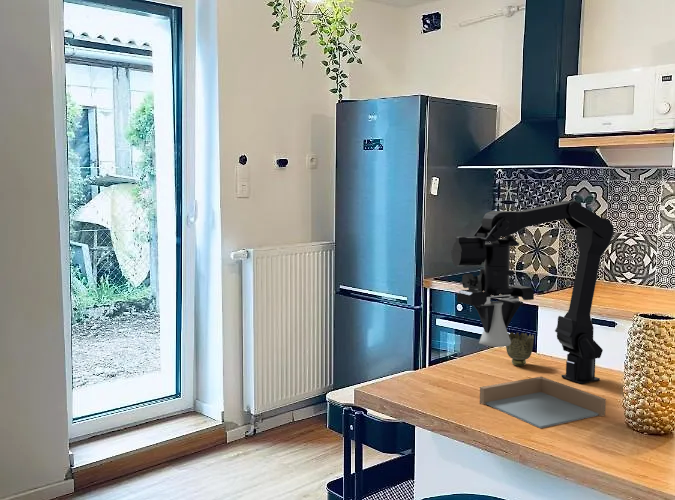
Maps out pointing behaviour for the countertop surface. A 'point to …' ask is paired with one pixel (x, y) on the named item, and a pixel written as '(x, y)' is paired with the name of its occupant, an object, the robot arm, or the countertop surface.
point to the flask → (496, 329)
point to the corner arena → (542, 401)
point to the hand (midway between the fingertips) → (495, 331)
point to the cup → (520, 348)
